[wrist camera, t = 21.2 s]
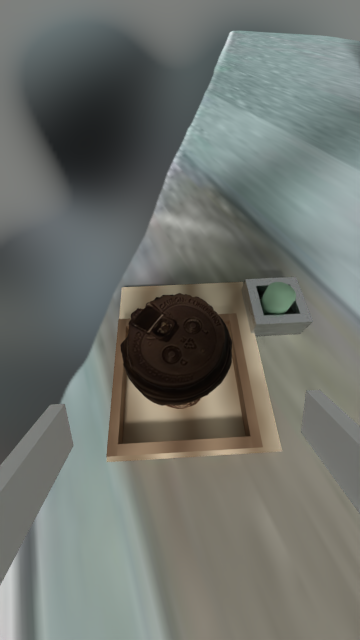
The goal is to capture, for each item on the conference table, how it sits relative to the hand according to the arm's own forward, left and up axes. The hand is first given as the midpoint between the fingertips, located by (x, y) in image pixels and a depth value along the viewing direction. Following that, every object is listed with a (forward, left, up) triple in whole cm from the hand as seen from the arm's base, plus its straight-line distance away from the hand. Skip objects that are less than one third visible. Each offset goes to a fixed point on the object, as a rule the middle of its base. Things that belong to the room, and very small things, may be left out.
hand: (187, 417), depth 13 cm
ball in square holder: (-13, -15, -15) cm, 24 cm away
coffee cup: (0, -5, -14) cm, 15 cm away
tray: (-1, -9, -15) cm, 17 cm away
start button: (-13, -15, -13) cm, 24 cm away
